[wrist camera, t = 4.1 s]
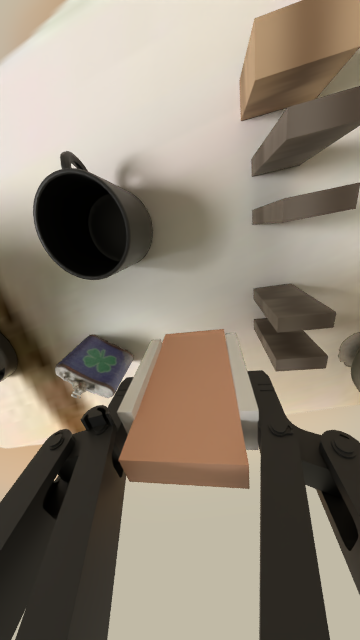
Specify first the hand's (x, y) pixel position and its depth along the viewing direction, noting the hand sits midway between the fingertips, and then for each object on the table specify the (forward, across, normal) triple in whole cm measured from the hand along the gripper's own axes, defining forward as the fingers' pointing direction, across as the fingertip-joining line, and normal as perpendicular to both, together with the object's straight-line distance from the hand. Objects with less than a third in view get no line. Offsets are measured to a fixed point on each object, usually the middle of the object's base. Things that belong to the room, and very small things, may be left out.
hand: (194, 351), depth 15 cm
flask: (+15, -18, -8) cm, 25 cm away
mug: (+15, -10, +12) cm, 22 cm away
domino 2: (+15, +10, +14) cm, 23 cm away
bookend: (+15, +10, +20) cm, 27 cm away
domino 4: (+15, +10, -1) cm, 18 cm away
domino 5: (+15, +10, -6) cm, 19 cm away
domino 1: (+2, 0, 0) cm, 2 cm away
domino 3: (+15, +10, +9) cm, 20 cm away
